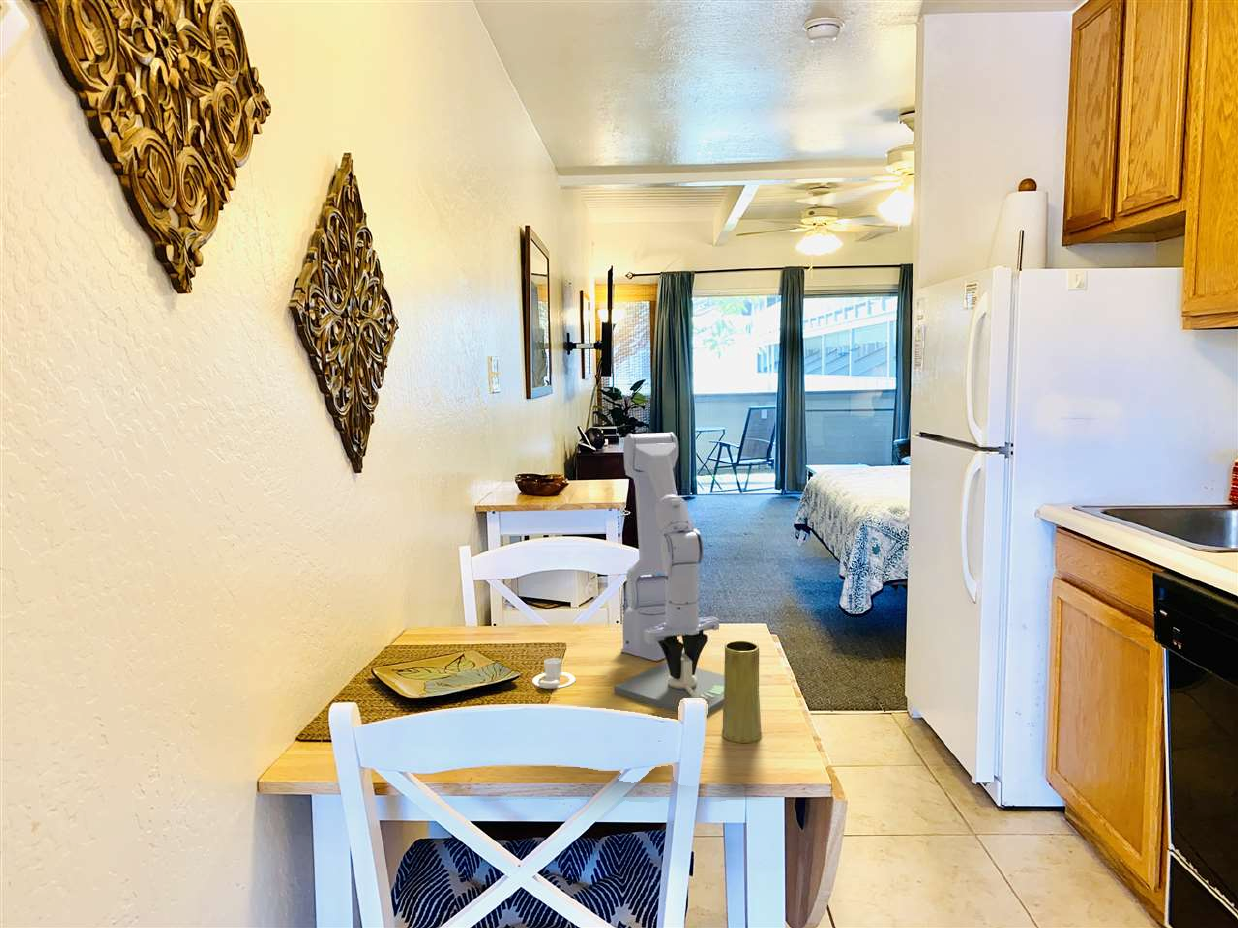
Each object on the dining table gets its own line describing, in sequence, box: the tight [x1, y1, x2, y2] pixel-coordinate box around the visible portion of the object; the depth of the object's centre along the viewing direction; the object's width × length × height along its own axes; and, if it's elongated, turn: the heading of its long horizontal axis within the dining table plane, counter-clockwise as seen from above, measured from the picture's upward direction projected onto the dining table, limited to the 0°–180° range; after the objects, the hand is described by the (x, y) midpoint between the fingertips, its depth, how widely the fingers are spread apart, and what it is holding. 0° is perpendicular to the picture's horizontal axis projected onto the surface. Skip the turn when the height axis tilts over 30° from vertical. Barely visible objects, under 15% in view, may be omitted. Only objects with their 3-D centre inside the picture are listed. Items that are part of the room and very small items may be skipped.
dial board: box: [613, 660, 724, 716], centre depth 140 cm, size 18×16×1 cm
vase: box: [721, 639, 762, 744], centre depth 122 cm, size 6×6×14 cm
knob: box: [668, 650, 699, 698], centre depth 137 cm, size 11×5×5 cm, turn 14°
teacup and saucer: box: [531, 657, 576, 690], centre depth 146 cm, size 9×8×4 cm
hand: (682, 675), depth 140 cm, fingers closed on knob, 2 cm apart
